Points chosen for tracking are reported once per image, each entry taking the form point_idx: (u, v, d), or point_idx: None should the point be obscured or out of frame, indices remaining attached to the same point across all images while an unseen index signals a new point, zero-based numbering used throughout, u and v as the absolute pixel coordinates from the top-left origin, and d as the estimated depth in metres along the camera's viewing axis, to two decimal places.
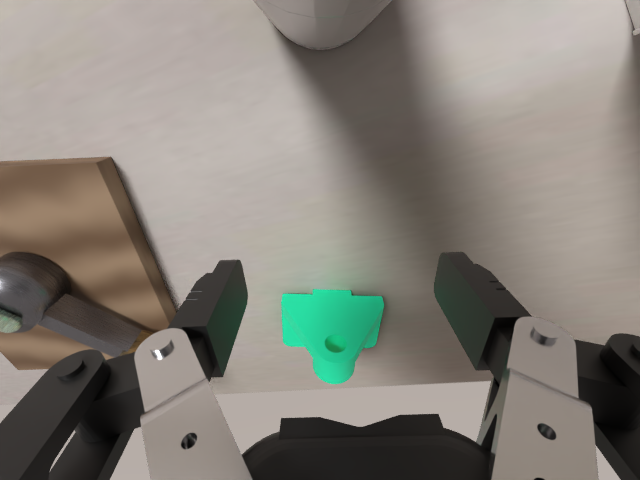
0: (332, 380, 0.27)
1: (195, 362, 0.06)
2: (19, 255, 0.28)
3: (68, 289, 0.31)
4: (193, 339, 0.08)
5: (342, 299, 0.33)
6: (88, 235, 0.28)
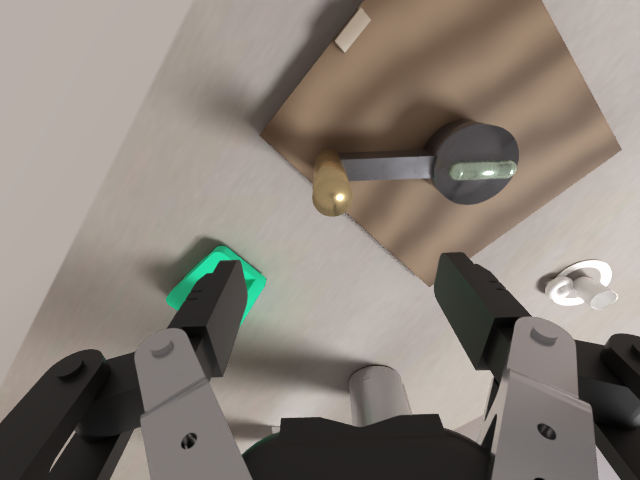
0: None
1: (195, 362, 0.06)
2: None
3: None
4: (193, 339, 0.08)
5: None
6: (421, 235, 0.33)
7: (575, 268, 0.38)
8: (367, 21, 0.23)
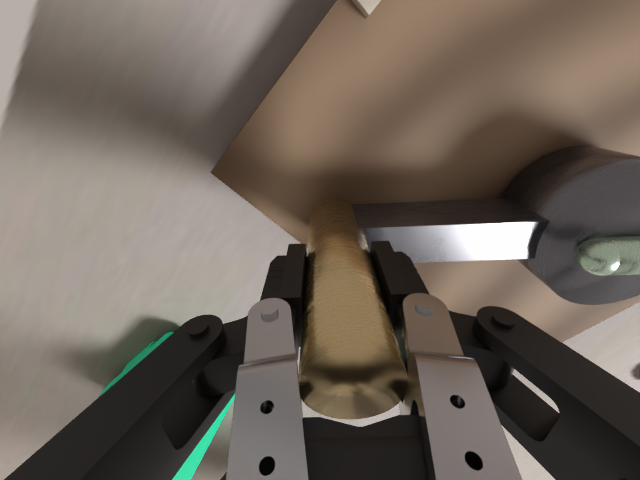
0: None
1: (290, 337, 0.07)
2: None
3: None
4: None
5: None
6: None
7: None
8: None
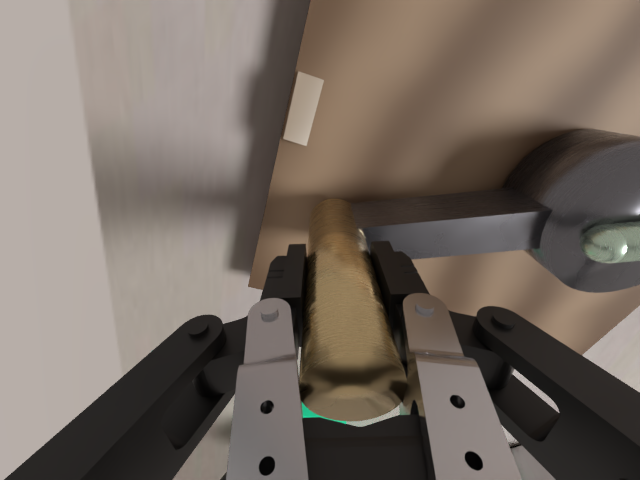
0: None
1: (290, 337, 0.07)
2: None
3: None
4: None
5: None
6: (537, 308, 0.21)
7: None
8: (319, 85, 0.13)
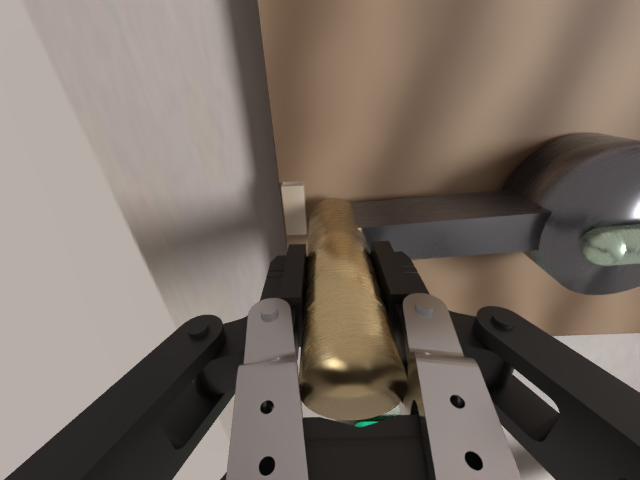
0: None
1: (290, 337, 0.07)
2: None
3: None
4: None
5: None
6: (582, 296, 0.20)
7: None
8: (300, 190, 0.15)
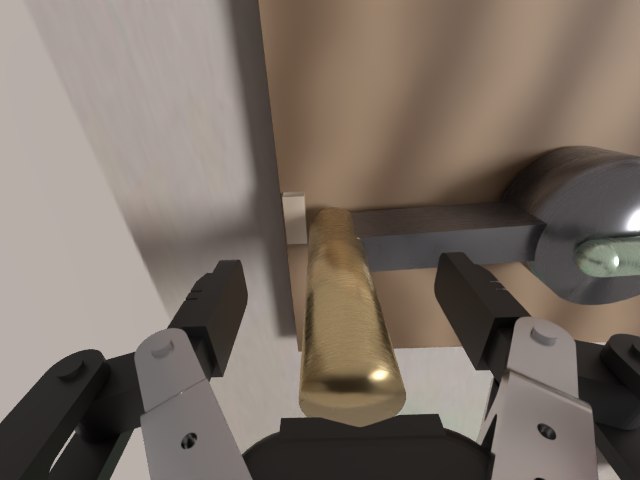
0: None
1: (195, 362, 0.06)
2: None
3: None
4: (193, 339, 0.08)
5: None
6: (579, 305, 0.20)
7: None
8: (301, 200, 0.15)
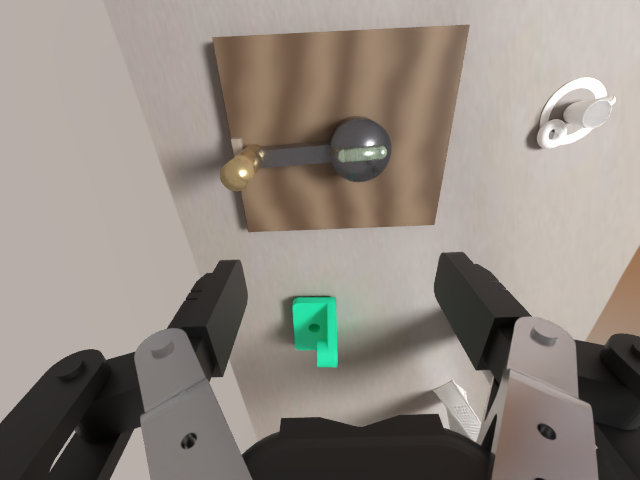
0: (320, 363, 0.44)
1: (195, 362, 0.06)
2: None
3: None
4: (193, 339, 0.08)
5: None
6: (389, 201, 0.40)
7: (550, 107, 0.36)
8: (239, 141, 0.35)
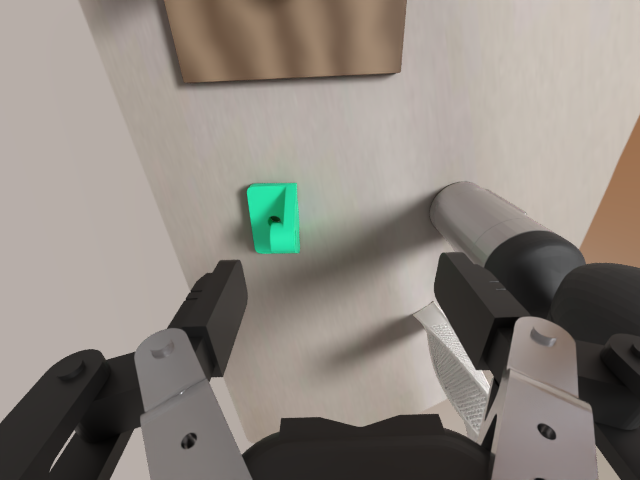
0: (274, 243, 0.38)
1: (195, 362, 0.06)
2: None
3: None
4: (193, 339, 0.08)
5: (298, 225, 0.46)
6: (345, 36, 0.34)
7: None
8: None
